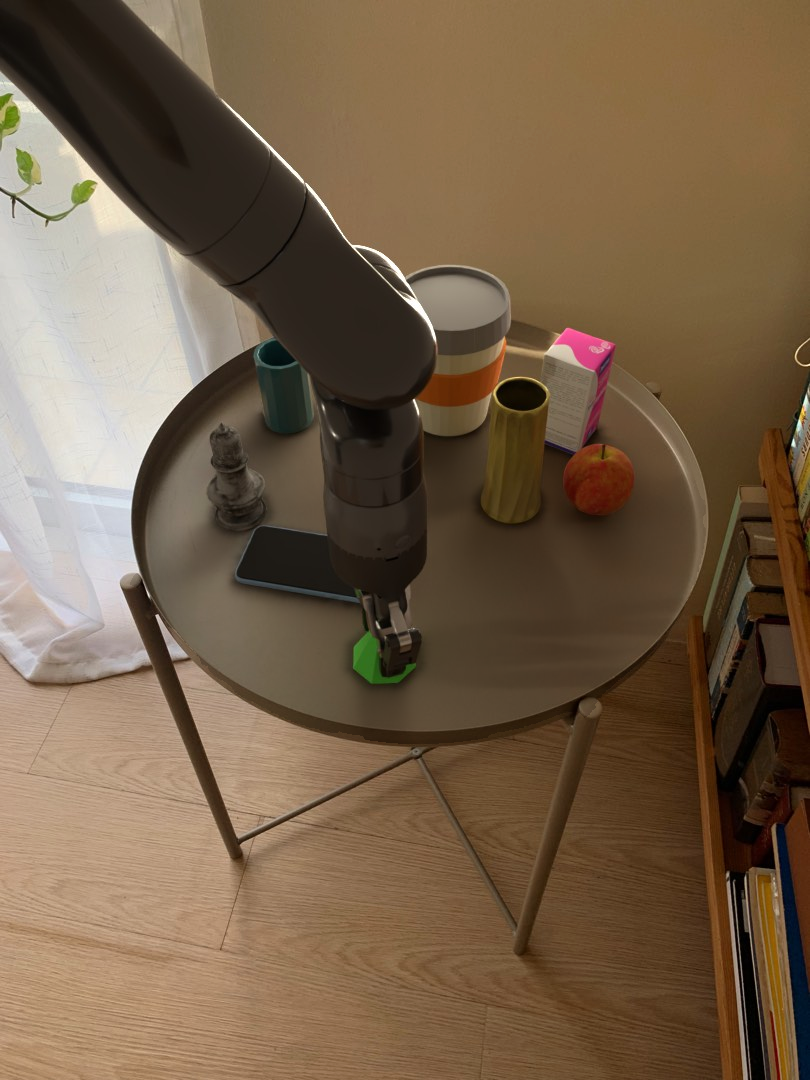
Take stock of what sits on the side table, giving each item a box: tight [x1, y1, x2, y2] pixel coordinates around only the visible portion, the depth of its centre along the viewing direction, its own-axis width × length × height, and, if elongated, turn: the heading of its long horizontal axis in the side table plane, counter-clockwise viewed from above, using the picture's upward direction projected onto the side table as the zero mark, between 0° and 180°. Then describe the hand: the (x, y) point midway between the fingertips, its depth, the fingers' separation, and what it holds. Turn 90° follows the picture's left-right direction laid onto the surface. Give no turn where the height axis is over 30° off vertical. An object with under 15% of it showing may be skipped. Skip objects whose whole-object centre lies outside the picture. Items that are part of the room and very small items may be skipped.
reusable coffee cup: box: [404, 264, 512, 437], centre depth 96 cm, size 13×13×15 cm
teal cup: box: [252, 337, 315, 435], centre depth 98 cm, size 6×6×9 cm
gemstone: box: [352, 620, 417, 685], centre depth 77 cm, size 6×6×6 cm
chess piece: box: [205, 422, 268, 532], centre depth 87 cm, size 6×6×12 cm
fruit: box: [562, 443, 635, 516], centre depth 88 cm, size 7×7×8 cm
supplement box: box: [539, 327, 617, 456], centre depth 94 cm, size 6×6×12 cm
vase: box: [480, 376, 550, 525], centre depth 86 cm, size 6×6×14 cm
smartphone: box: [234, 525, 361, 604], centre depth 86 cm, size 7×1×15 cm
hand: (384, 648), depth 78 cm, fingers closed on gemstone, 4 cm apart
